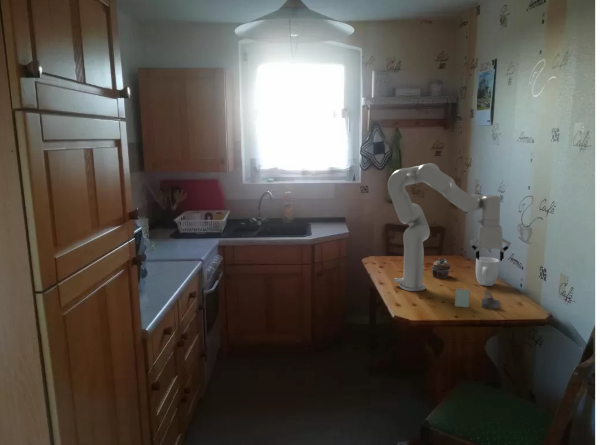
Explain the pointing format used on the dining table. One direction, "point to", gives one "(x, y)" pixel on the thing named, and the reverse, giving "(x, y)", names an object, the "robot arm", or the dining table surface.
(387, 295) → the dining table surface
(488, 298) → the scraper
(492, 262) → the mug
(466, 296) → the tile
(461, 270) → the dining table surface
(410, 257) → the robot arm
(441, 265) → the cupcake
